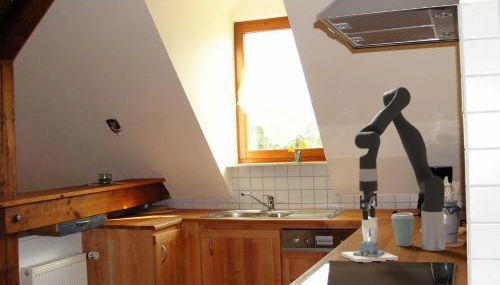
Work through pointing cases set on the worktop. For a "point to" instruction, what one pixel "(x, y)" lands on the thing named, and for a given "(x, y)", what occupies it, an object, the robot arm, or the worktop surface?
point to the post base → (369, 259)
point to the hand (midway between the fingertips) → (369, 218)
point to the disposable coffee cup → (403, 228)
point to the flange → (369, 249)
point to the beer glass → (370, 229)
